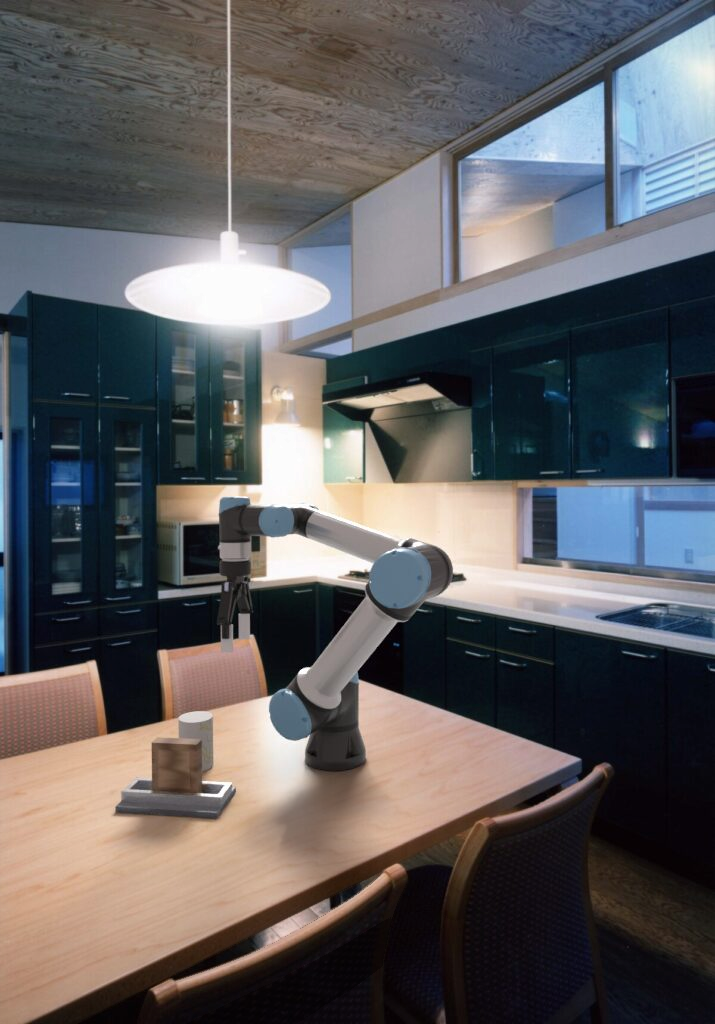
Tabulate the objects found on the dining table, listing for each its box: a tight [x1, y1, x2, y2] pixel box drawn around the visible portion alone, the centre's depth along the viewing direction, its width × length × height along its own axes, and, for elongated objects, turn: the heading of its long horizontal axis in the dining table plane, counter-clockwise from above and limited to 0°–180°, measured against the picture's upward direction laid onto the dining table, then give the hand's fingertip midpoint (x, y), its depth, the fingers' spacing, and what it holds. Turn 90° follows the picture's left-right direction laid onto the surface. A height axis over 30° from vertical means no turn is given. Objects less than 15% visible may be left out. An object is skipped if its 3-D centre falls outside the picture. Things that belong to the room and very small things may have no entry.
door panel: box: [150, 736, 203, 793], centre depth 140 cm, size 10×3×12 cm, turn 83°
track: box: [114, 777, 237, 820], centre depth 140 cm, size 22×12×3 cm, turn 83°
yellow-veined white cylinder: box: [177, 710, 214, 772], centre depth 159 cm, size 8×8×12 cm
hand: (236, 645), depth 161 cm, fingers open, 13 cm apart
